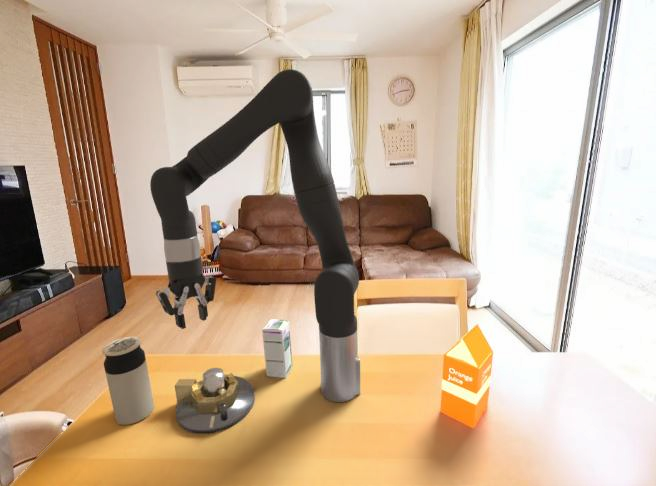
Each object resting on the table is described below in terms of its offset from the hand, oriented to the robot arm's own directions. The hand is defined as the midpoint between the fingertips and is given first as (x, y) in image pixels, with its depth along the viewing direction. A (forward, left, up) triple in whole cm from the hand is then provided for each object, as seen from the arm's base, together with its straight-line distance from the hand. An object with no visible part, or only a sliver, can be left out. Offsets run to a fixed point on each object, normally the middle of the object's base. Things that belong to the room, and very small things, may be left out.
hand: (192, 323), depth 81 cm
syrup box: (-20, -3, -20) cm, 28 cm away
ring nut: (-2, +5, -18) cm, 19 cm away
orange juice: (-60, +23, -20) cm, 67 cm away
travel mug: (+15, +3, -20) cm, 25 cm away
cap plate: (-4, +6, -19) cm, 21 cm away
